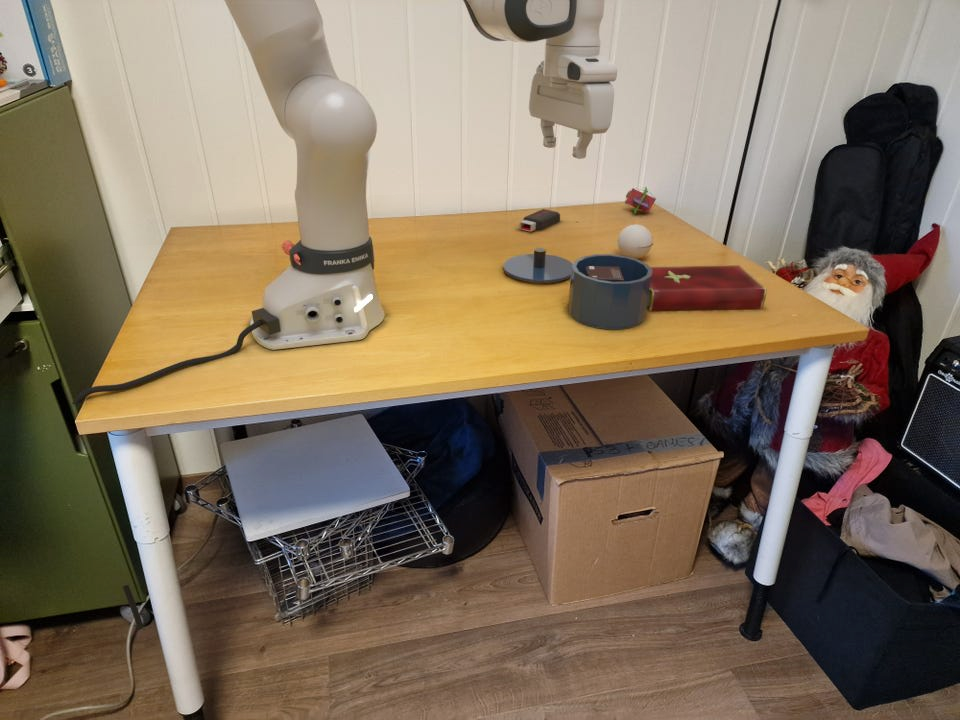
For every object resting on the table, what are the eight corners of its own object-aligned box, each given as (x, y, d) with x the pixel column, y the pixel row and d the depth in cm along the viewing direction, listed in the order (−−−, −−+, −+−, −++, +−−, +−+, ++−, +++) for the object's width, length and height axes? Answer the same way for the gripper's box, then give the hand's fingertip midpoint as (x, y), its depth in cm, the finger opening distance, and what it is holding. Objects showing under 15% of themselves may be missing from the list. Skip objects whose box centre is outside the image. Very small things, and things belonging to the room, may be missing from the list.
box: (619, 318, 113) (624, 279, 109) (584, 317, 113) (588, 278, 109) (615, 304, 118) (620, 266, 114) (582, 303, 118) (585, 265, 114)
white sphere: (628, 266, 136) (632, 232, 132) (608, 254, 142) (612, 222, 138) (667, 260, 139) (672, 226, 136) (646, 248, 145) (651, 216, 141)
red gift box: (659, 202, 170) (643, 176, 167) (662, 209, 164) (646, 183, 162) (634, 217, 173) (619, 192, 170) (636, 225, 167) (620, 199, 164)
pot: (597, 336, 108) (603, 288, 104) (554, 305, 118) (557, 261, 114) (661, 320, 113) (669, 275, 109) (614, 292, 124) (619, 249, 120)
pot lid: (525, 290, 124) (527, 267, 122) (490, 265, 135) (491, 243, 133) (588, 278, 130) (591, 255, 127) (550, 254, 141) (551, 234, 139)
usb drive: (560, 221, 162) (560, 210, 161) (534, 233, 154) (535, 222, 152) (542, 217, 165) (542, 206, 163) (516, 229, 156) (516, 218, 155)
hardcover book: (762, 309, 117) (767, 288, 115) (649, 312, 116) (652, 290, 114) (735, 284, 128) (739, 263, 126) (631, 286, 126) (633, 265, 124)
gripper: (522, 59, 112) (518, 142, 119) (590, 71, 96) (581, 166, 103) (553, 59, 115) (547, 140, 121) (624, 70, 99) (613, 163, 105)
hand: (563, 152), depth 112 cm, fingers open, 8 cm apart
